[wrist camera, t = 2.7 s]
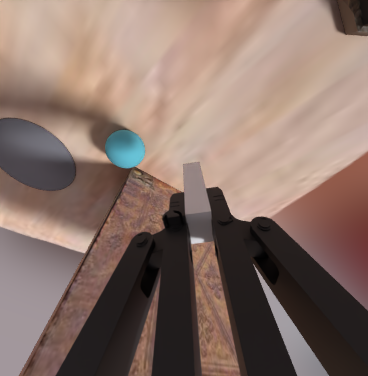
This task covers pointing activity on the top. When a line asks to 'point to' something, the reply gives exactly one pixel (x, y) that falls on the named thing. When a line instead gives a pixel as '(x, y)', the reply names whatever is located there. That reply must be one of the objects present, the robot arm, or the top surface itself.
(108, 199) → the top surface
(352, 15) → the bird statue
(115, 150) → the ball
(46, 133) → the disc
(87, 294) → the book
